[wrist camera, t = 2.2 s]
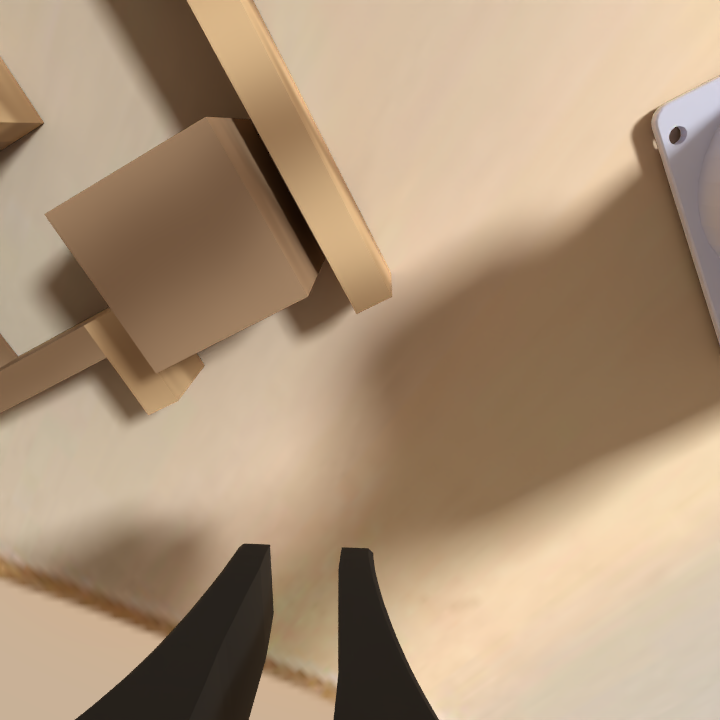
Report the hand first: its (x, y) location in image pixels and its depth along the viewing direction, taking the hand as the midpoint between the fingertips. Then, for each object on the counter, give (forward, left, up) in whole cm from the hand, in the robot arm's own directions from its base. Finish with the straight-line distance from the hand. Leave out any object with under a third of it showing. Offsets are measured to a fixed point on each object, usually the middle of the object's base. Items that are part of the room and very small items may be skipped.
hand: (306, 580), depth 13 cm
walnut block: (+8, 0, -10) cm, 12 cm away
